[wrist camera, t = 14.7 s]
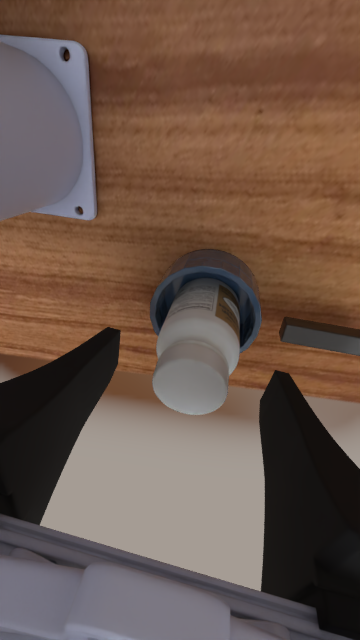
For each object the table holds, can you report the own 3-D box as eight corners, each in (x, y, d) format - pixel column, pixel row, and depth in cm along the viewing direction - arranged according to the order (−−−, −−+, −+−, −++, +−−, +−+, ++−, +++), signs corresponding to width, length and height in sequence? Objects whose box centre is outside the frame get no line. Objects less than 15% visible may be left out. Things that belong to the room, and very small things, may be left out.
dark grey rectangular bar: (278, 332, 17) (280, 342, 16) (284, 315, 17) (286, 324, 16) (360, 347, 17) (366, 357, 16) (369, 330, 16) (376, 340, 15)
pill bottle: (243, 330, 20) (244, 423, 13) (182, 335, 21) (155, 422, 14) (235, 271, 17) (232, 346, 11) (168, 280, 19) (129, 353, 12)
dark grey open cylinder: (159, 327, 21) (148, 351, 19) (164, 241, 18) (152, 257, 15) (246, 343, 21) (246, 371, 18) (270, 257, 17) (275, 277, 15)
